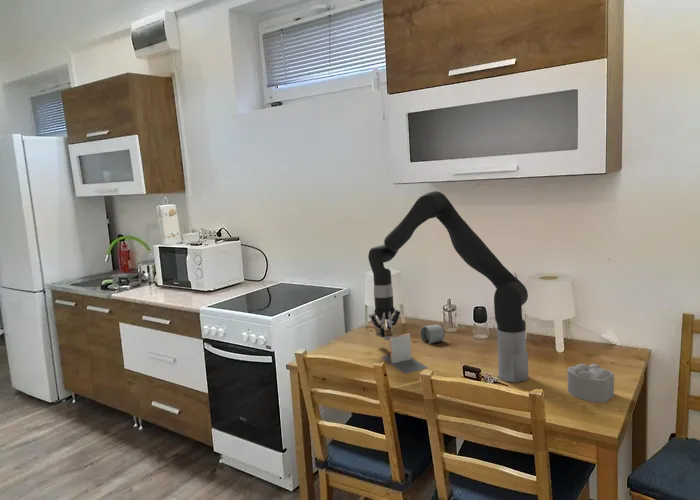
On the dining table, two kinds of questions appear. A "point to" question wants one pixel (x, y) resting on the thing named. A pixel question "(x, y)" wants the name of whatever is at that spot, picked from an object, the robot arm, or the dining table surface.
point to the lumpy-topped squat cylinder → (591, 383)
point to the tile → (400, 348)
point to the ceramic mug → (432, 333)
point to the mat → (406, 364)
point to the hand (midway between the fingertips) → (386, 336)
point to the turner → (385, 333)
